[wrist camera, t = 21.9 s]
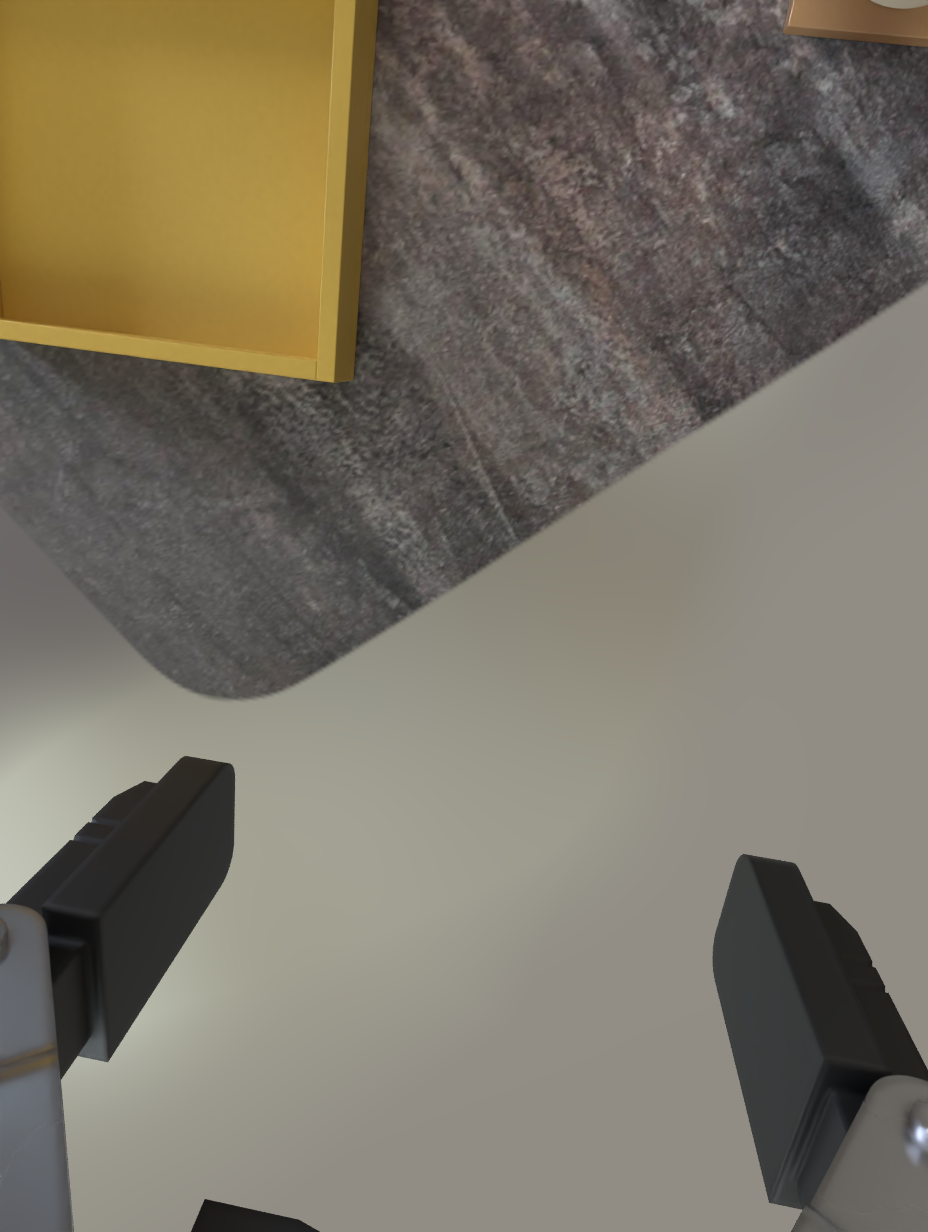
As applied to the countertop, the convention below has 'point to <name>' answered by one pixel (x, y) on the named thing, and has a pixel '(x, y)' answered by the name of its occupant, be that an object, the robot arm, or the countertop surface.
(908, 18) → the trivet
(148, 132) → the tray
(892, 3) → the jar with grey lid
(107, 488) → the countertop surface
